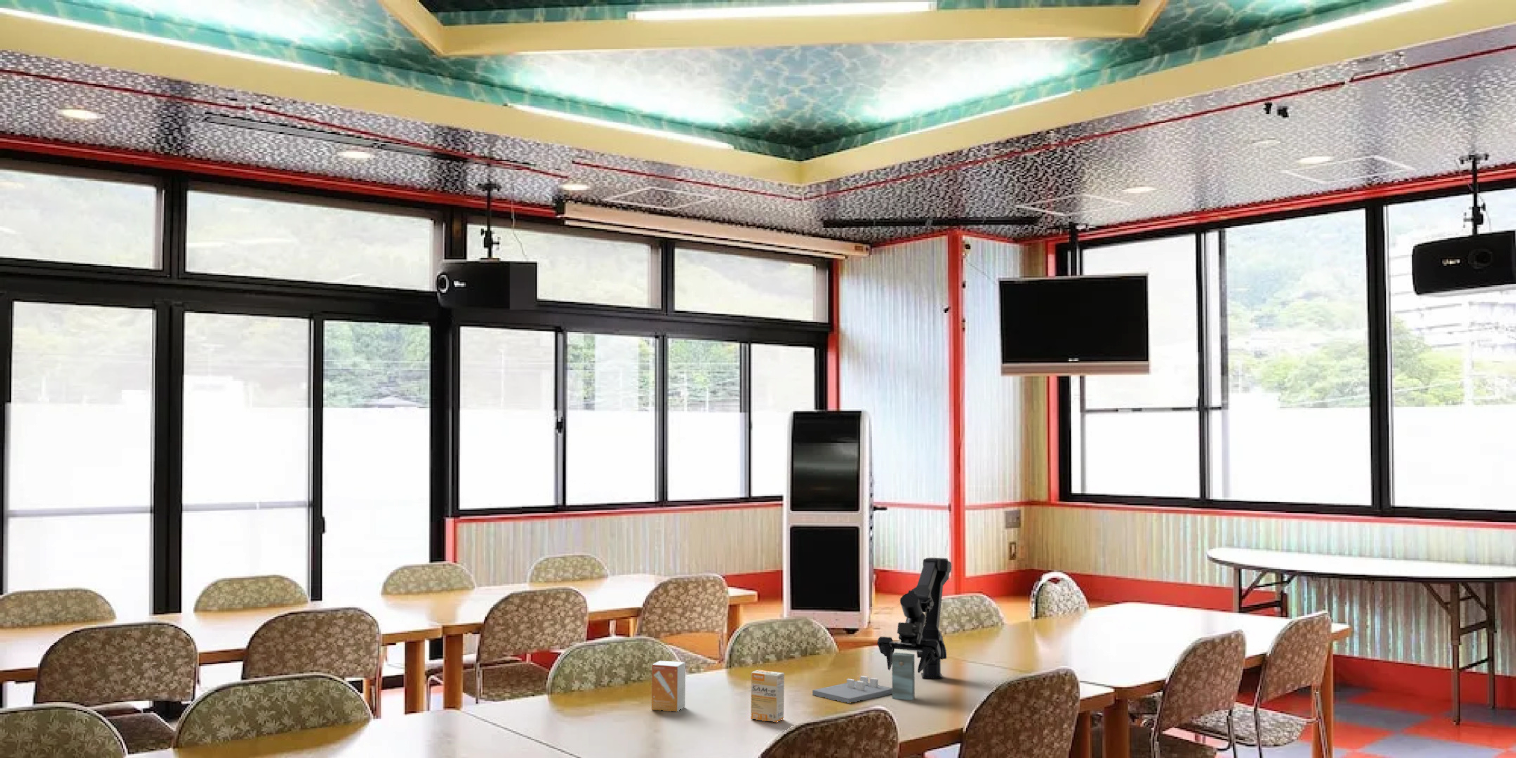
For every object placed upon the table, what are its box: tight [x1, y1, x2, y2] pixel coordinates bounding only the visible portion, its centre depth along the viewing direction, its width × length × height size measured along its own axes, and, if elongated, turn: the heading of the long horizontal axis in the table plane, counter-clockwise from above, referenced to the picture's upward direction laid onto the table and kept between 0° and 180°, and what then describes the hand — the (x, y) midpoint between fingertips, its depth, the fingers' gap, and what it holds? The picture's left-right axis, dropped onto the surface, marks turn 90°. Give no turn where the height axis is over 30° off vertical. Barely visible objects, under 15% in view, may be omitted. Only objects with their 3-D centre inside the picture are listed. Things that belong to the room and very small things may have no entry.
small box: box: [651, 660, 686, 712], centre depth 334 cm, size 8×6×13 cm
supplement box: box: [750, 669, 785, 723], centre depth 321 cm, size 8×5×13 cm, turn 62°
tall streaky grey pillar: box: [891, 652, 916, 701], centre depth 347 cm, size 4×6×13 cm, turn 66°
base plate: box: [812, 675, 892, 704], centre depth 352 cm, size 20×15×4 cm
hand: (903, 670), depth 348 cm, fingers open, 9 cm apart
